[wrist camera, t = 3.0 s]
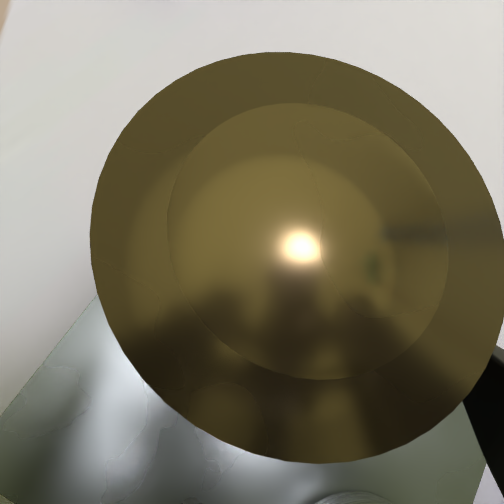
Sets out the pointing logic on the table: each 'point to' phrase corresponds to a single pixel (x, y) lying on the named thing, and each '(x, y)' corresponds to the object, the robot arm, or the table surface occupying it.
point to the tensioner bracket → (190, 446)
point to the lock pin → (298, 257)
